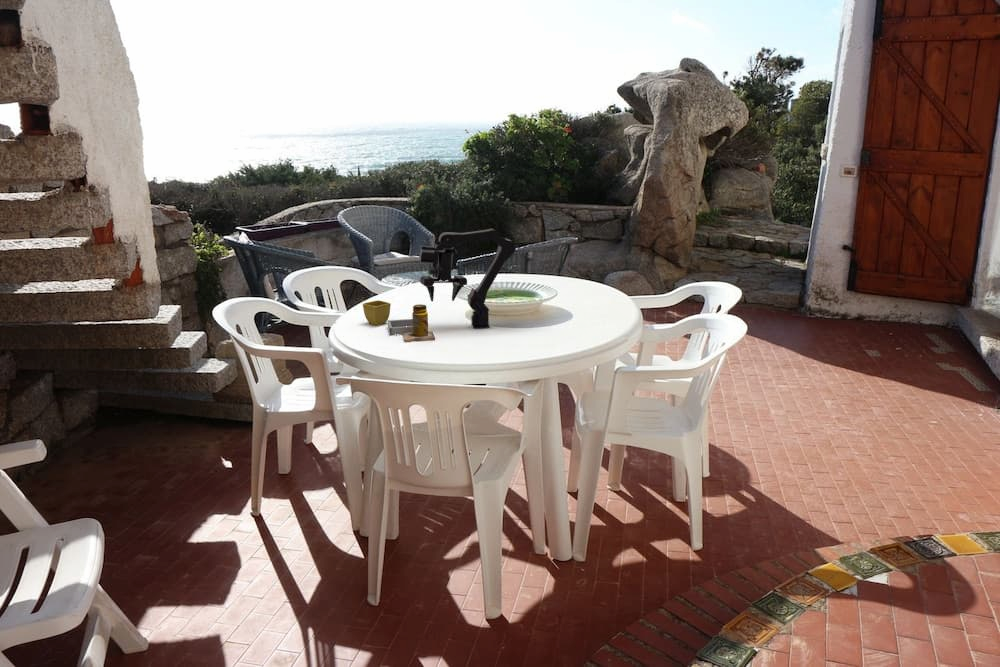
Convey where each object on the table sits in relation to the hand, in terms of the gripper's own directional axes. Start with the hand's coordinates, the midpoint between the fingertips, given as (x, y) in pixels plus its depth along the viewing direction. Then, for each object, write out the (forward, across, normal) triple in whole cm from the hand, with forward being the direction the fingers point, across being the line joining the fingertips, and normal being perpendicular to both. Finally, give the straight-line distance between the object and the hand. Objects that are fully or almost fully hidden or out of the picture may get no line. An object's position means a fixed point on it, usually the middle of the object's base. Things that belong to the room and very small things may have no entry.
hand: (442, 301), depth 301 cm
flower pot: (+15, +21, -20) cm, 33 cm away
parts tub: (+13, +14, -4) cm, 19 cm away
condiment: (+11, +13, +9) cm, 20 cm away
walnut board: (+12, +13, +10) cm, 20 cm away
